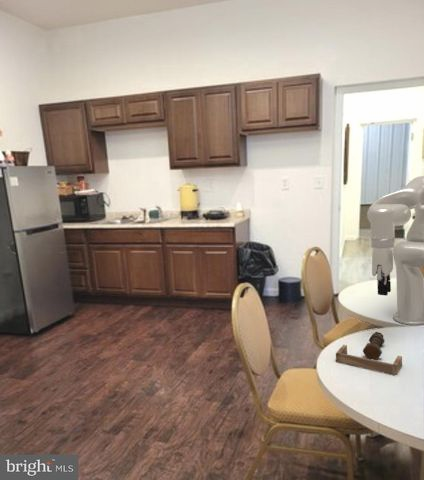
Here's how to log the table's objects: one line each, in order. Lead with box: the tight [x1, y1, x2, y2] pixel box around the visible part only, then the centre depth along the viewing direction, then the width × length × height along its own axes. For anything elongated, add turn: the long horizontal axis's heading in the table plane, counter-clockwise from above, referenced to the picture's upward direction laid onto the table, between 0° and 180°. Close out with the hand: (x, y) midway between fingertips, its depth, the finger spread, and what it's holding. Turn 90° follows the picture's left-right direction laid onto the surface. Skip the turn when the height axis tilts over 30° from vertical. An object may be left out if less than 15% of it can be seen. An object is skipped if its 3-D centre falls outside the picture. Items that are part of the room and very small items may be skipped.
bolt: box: [362, 331, 386, 361], centre depth 129 cm, size 6×5×15 cm
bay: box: [335, 344, 403, 376], centre depth 121 cm, size 7×18×3 cm, turn 52°
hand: (384, 292), depth 134 cm, fingers open, 3 cm apart
